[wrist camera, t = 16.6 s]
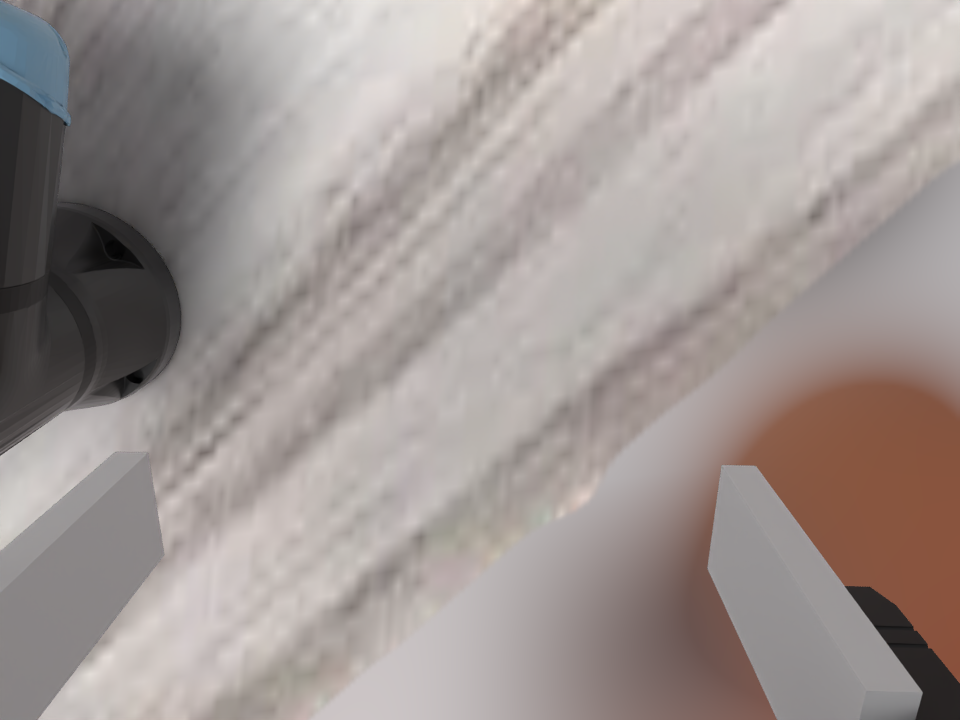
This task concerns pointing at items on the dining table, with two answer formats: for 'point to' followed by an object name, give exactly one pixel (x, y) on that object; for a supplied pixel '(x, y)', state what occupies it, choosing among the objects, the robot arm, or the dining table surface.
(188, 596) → the dining table surface
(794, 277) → the dining table surface
